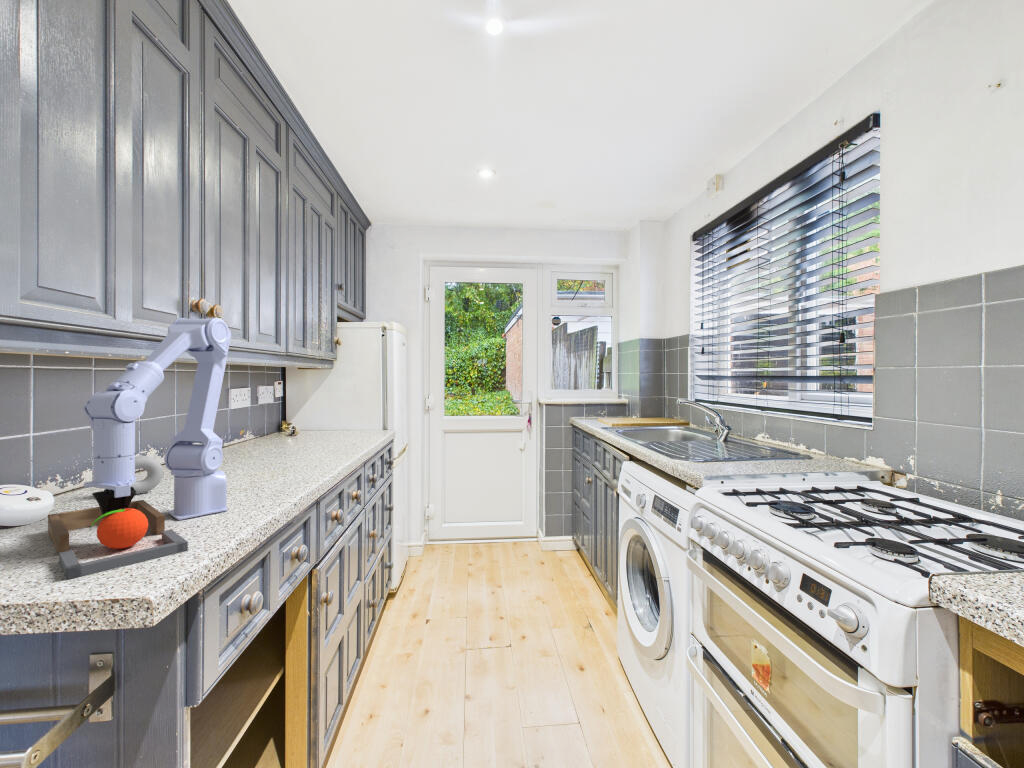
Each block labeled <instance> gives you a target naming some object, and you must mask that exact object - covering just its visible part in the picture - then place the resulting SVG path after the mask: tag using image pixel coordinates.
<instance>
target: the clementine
mask: <svg viewBox="0 0 1024 768" xmlns="http://www.w3.org/2000/svg"><path fill="white" fill-rule="evenodd" d="M106 515H107V516H106ZM104 516H105V517H104ZM102 517H104V518H103V519H102V520H101V522H100V524H99V525H97V528H96V537H97V540H98V541H99V543H100V544H101V545H103V547H106V548H108V549H113V550H114V549H115V550H123V549H127V548H129V547H132V546H134V545H136V544H137V543H138V542H140V541H142V539H143V538H144V537H145V536H146V534H147V531H148V530H149V528H148V519H147V518H146V516H145V515H144V514H143V513H142V512H141V511H139V510H136V509H133V508H122V509H119V510H115V511H111V512H108V513H106V514H103V515H102V516H100V517H99V518H97V519H96V520H95V521H94V522H93V523H92V525H93V524H94V523H95V522H96V521H97V520H99V519H100V518H102ZM92 525H91V527H89V529H88V530H89V531H90V530H91V528H92V527H93V526H92Z"/></svg>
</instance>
